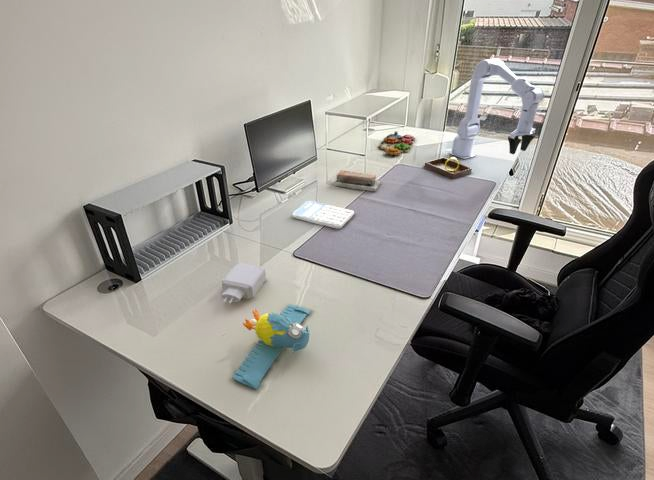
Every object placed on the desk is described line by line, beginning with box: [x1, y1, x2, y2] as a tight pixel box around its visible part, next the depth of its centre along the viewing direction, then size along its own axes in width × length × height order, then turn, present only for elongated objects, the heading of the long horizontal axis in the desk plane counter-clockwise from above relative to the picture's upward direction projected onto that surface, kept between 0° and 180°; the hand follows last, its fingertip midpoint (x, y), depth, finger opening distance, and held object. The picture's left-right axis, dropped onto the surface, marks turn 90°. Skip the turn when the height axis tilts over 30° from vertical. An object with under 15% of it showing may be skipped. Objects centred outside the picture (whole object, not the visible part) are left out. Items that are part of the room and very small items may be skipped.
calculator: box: [291, 200, 355, 230], centre depth 155 cm, size 13×20×2 cm, turn 62°
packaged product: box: [334, 170, 381, 193], centre depth 178 cm, size 18×5×10 cm
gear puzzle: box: [378, 130, 416, 156], centre depth 217 cm, size 31×16×4 cm, turn 160°
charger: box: [220, 262, 267, 304], centre depth 117 cm, size 5×9×15 cm
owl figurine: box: [232, 304, 311, 390], centre depth 99 cm, size 28×9×15 cm
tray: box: [424, 156, 473, 180], centre depth 192 cm, size 17×12×2 cm
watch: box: [445, 156, 460, 172], centre depth 190 cm, size 6×3×6 cm, turn 75°
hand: (517, 152), depth 183 cm, fingers open, 7 cm apart
